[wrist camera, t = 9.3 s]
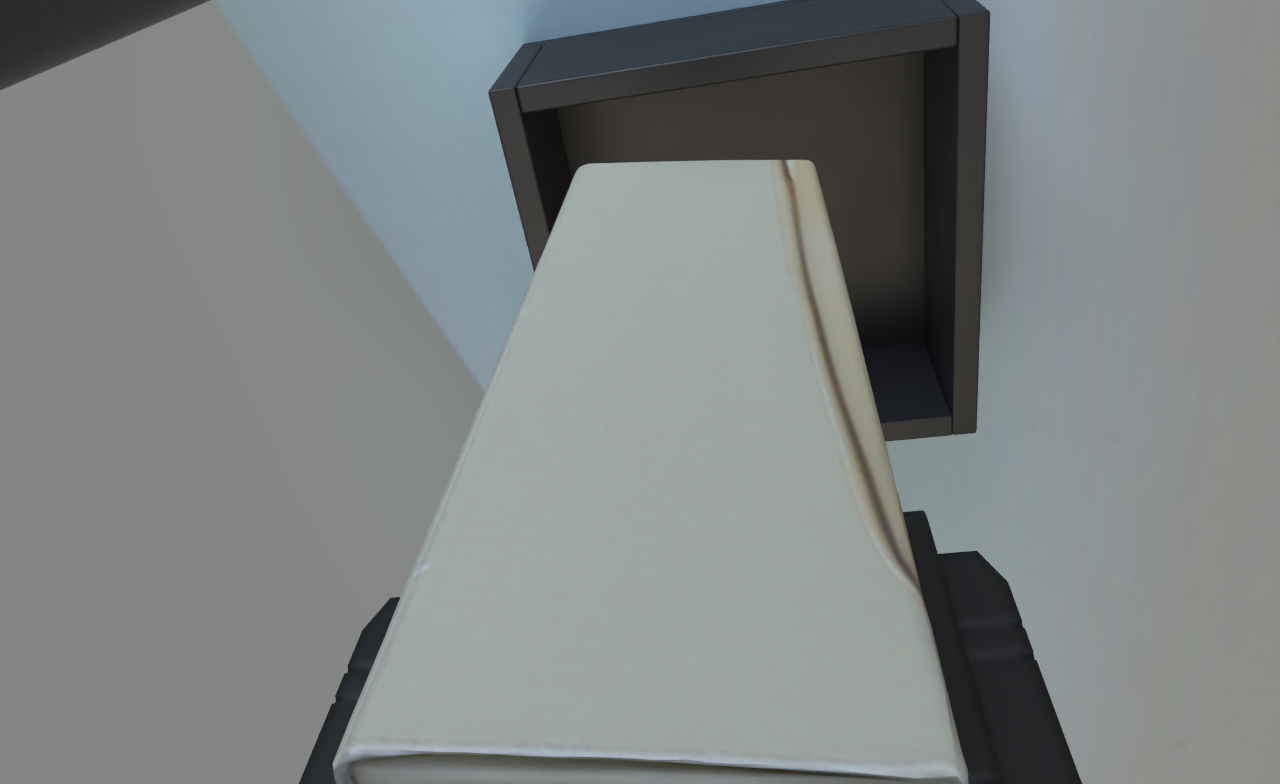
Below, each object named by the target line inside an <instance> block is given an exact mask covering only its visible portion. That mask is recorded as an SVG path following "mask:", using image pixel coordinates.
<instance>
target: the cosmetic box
mask: <svg viewBox="0 0 1280 784" xmlns="http://www.w3.org/2000/svg"><path fill="white" fill-rule="evenodd" d="M333 770H334V780H335V782H336V784H969V781H968V769H967V766H966V763H965V760H964V757H963V753H962V750H961V746H960V742H959V738H958V734H957V730H956V725H955V721H954V717H953V713H952V709H951V705H950V701H949V697H948V692H947V688H946V684H945V680H944V676H943V672H942V668H941V664H940V659H939V655H938V651H937V647H936V643H935V639H934V635H933V630H932V627H931V623H930V620H929V616H928V613H927V610H926V606H925V603H924V598H923V594H922V590H921V586H920V582H919V578H918V574H917V570H916V565H915V561H914V557H913V553H912V549H911V545H910V541H909V537H908V532H907V528H906V524H905V520H904V516H903V512H902V508H901V504H900V500H899V496H898V492H897V489H896V484H895V480H894V476H893V472H892V468H891V464H890V460H889V456H888V452H887V448H886V444H885V440H884V436H883V432H882V428H881V424H880V420H879V416H878V412H877V408H876V404H875V400H874V396H873V392H872V388H871V384H870V380H869V376H868V372H867V368H866V364H865V360H864V355H863V351H862V347H861V343H860V339H859V335H858V331H857V327H856V322H855V318H854V314H853V310H852V306H851V302H850V299H849V295H848V291H847V287H846V283H845V280H844V275H843V270H842V267H841V263H840V259H839V255H838V251H837V247H836V244H835V239H834V235H833V232H832V228H831V225H830V221H829V217H828V213H827V209H826V205H825V201H824V197H823V193H822V190H821V186H820V183H819V179H818V175H817V172H816V168H815V165H814V163H813V162H811V161H809V160H711V161H664V162H628V163H595V164H586V165H583V166H581V167H579V169H578V170H577V171H576V173H575V175H574V177H573V180H572V182H571V185H570V187H569V190H568V192H567V195H566V197H565V200H564V202H563V205H562V207H561V209H560V212H559V214H558V217H557V219H556V222H555V224H554V227H553V229H552V232H551V234H550V237H549V239H548V242H547V244H546V246H545V249H544V251H543V254H542V256H541V258H540V261H539V263H538V265H537V267H536V270H535V272H534V275H533V277H532V280H531V282H530V285H529V287H528V290H527V292H526V295H525V297H524V300H523V302H522V304H521V307H520V309H519V312H518V314H517V316H516V319H515V321H514V324H513V326H512V328H511V331H510V333H509V336H508V338H507V341H506V343H505V345H504V348H503V350H502V353H501V355H500V358H499V360H498V363H497V365H496V367H495V370H494V372H493V375H492V377H491V380H490V382H489V384H488V387H487V389H486V392H485V394H484V397H483V399H482V401H481V404H480V406H479V409H478V411H477V414H476V416H475V419H474V421H473V423H472V426H471V428H470V431H469V433H468V436H467V438H466V440H465V443H464V446H463V448H462V451H461V453H460V456H459V458H458V460H457V463H456V465H455V467H454V470H453V472H452V475H451V477H450V480H449V482H448V485H447V487H446V490H445V492H444V494H443V497H442V499H441V501H440V504H439V506H438V509H437V511H436V513H435V516H434V518H433V521H432V523H431V525H430V528H429V530H428V533H427V535H426V537H425V540H424V542H423V545H422V547H421V549H420V552H419V554H418V557H417V559H416V561H415V564H414V566H413V569H412V571H411V573H410V576H409V578H408V581H407V583H406V585H405V588H404V590H403V592H402V595H401V597H400V600H399V602H398V604H397V607H396V610H395V612H394V615H393V617H392V620H391V622H390V625H389V628H388V630H387V633H386V635H385V638H384V640H383V642H382V645H381V647H380V649H379V652H378V654H377V657H376V659H375V662H374V664H373V666H372V669H371V671H370V674H369V676H368V678H367V681H366V683H365V685H364V688H363V690H362V692H361V695H360V697H359V699H358V702H357V704H356V707H355V709H354V711H353V714H352V716H351V719H350V721H349V724H348V726H347V729H346V731H345V734H344V736H343V739H342V741H341V744H340V746H339V749H338V751H337V754H336V756H335V759H334V761H333Z"/></svg>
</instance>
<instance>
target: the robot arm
mask: <svg viewBox="0 0 1280 784" xmlns="http://www.w3.org/2000/svg"><path fill="white" fill-rule="evenodd" d="M903 516H904V520H905V524H906V528H907V532H908V537H909V541H910V545H911V549H912V553H913V557H914V561H915V565H916V570H917V574H918V578H919V582H920V586H921V590H922V594H923V598H924V603H925V606H926V610H927V613H928V616H929V620H930V623H931V627H932V630H933V635H934V639H935V643H936V647H937V651H938V655H939V659H940V664H941V668H942V672H943V676H944V680H945V684H946V688H947V692H948V697H949V701H950V705H951V709H952V713H953V717H954V721H955V725H956V730H957V734H958V738H959V742H960V746H961V750H962V753H963V757H964V760H965V763H966V766H967V769H968V781H969V784H1082V782H1081V780H1080V777H1079V775H1078V772H1077V769H1076V767H1075V764H1074V761H1073V758H1072V756H1071V753H1070V750H1069V747H1068V745H1067V742H1066V739H1065V737H1064V734H1063V731H1062V728H1061V726H1060V723H1059V720H1058V718H1057V715H1056V712H1055V709H1054V707H1053V704H1052V701H1051V698H1050V696H1049V693H1048V690H1047V688H1046V685H1045V682H1044V679H1043V677H1042V674H1041V671H1040V668H1039V666H1038V663H1037V660H1035V659H1034V655H1033V649H1032V647H1031V644H1030V641H1029V639H1028V636H1027V633H1026V630H1025V628H1023V626H1022V619H1021V617H1020V614H1019V611H1018V609H1017V606H1016V603H1015V600H1014V598H1013V595H1012V592H1011V590H1010V587H1009V584H1008V582H1007V581H1006V580H1005V579H1004V578H1003V577H1002V576H1001V575H1000V574H999V573H998V572H997V571H996V570H995V569H994V568H993V567H992V566H991V565H990V564H989V563H988V562H987V561H986V560H985V559H984V558H983V557H982V556H981V555H980V554H979V553H978V552H977V551H970V552H957V553H945V554H937V550H936V547H935V543H934V540H933V536H932V533H931V529H930V526H929V523H928V519H927V516H926V514H925V512H924V511H912V512H903ZM399 600H400V597H395V598H390V599H389V601H388V602H387V603H386V604H385V605H384V606H383V607H382V609H381V610H380V611H379V612H378V613H377V614H376V615H375V617H374V618H373V619H372V620H371V621H370V623H368V625H367V626H366V627H365V628H364V629H363V631H362V633H361V635H360V638H359V640H358V643H357V645H356V647H355V650H354V652H353V654H352V657H351V659H350V662H349V664H348V673H345V674H344V676H343V679H342V681H341V683H340V686H339V688H338V691H337V693H336V695H335V697H336V702H335V703H334V704H332V705H331V707H330V710H329V712H328V715H327V717H326V720H325V722H324V725H323V727H322V729H321V732H320V734H319V736H318V739H317V741H316V744H315V746H314V749H313V751H312V753H311V756H310V758H309V761H308V763H307V766H306V768H305V770H304V773H303V775H302V777H301V780H300V782H299V784H336V782H335V780H334V770H333V761H334V759H335V756H336V754H337V751H338V749H339V746H340V744H341V741H342V739H343V736H344V734H345V731H346V729H347V726H348V724H349V721H350V719H351V716H352V714H353V711H354V709H355V707H356V704H357V702H358V699H359V697H360V695H361V692H362V690H363V688H364V685H365V683H366V681H367V678H368V676H369V674H370V671H371V669H372V666H373V664H374V662H375V659H376V657H377V654H378V652H379V649H380V647H381V645H382V642H383V640H384V638H385V635H386V633H387V630H388V628H389V625H390V622H391V620H392V617H393V615H394V612H395V610H396V607H397V604H398V602H399Z"/></svg>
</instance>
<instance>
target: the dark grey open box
mask: <svg viewBox="0 0 1280 784" xmlns="http://www.w3.org/2000/svg"><path fill="white" fill-rule="evenodd" d="M989 30H990V12H989V11H988V10H987V9H986V8H985V7H984V6H982V5H981V4H980V3H979V2H978V1H976V0H787V1H781V2H775V3H769V4H763V5H757V6H751V7H745V8H739V9H733V10H727V11H721V12H715V13H709V14H703V15H697V16H691V17H685V18H679V19H673V20H667V21H661V22H655V23H649V24H643V25H637V26H631V27H625V28H618V29H612V30H606V31H600V32H594V33H588V34H582V35H576V36H570V37H564V38H558V39H552V40H546V41H540V42H534V43H528V44H523V45H522V46H521V48H520V49H519V51H518V52H517V53H516V55H515V56H514V57H513V59H512V60H511V61H510V63H509V64H508V65H507V67H506V68H505V70H504V71H503V72H502V74H501V75H500V76H499V78H498V79H497V80H496V82H495V83H494V84H493V86H492V87H491V89H490V90H489V97H490V101H491V105H492V109H493V113H494V116H495V120H496V124H497V128H498V132H499V136H500V140H501V144H502V148H503V152H504V156H505V159H506V163H507V167H508V171H509V175H510V179H511V183H512V187H513V191H514V195H515V199H516V203H517V206H518V210H519V214H520V218H521V222H522V226H523V230H524V234H525V238H526V242H527V246H528V249H529V253H530V257H531V261H532V265H533V269H534V272H535V270H536V267H537V265H538V263H539V261H540V258H541V256H542V254H543V251H544V249H545V246H546V244H547V242H548V239H549V237H550V234H551V232H552V229H553V227H554V224H555V222H556V219H557V217H558V214H559V212H560V209H561V207H562V205H563V202H564V200H565V197H566V195H567V192H568V190H569V187H570V185H571V182H572V180H573V177H574V175H575V173H576V171H577V170H578V169H579V167H581V166H583V165H586V164H595V163H628V162H664V161H711V160H809V161H811V162H813V163H814V165H815V168H816V172H817V175H818V179H819V183H820V186H821V190H822V193H823V197H824V201H825V205H826V209H827V213H828V217H829V221H830V225H831V228H832V232H833V235H834V239H835V244H836V247H837V251H838V255H839V259H840V263H841V267H842V270H843V275H844V280H845V283H846V287H847V291H848V295H849V299H850V302H851V306H852V310H853V314H854V318H855V322H856V327H857V331H858V335H859V339H860V343H861V347H862V351H863V355H864V360H865V364H866V368H867V372H868V376H869V380H870V384H871V388H872V392H873V396H874V400H875V404H876V408H877V412H878V416H879V420H880V424H881V428H882V432H883V436H884V440H885V441H894V440H905V439H916V438H926V437H937V436H948V435H951V434H953V435H957V434H968V433H975V432H976V428H977V397H978V367H979V336H980V306H981V275H982V244H983V214H984V183H985V153H986V122H987V91H988V61H989Z"/></svg>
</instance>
